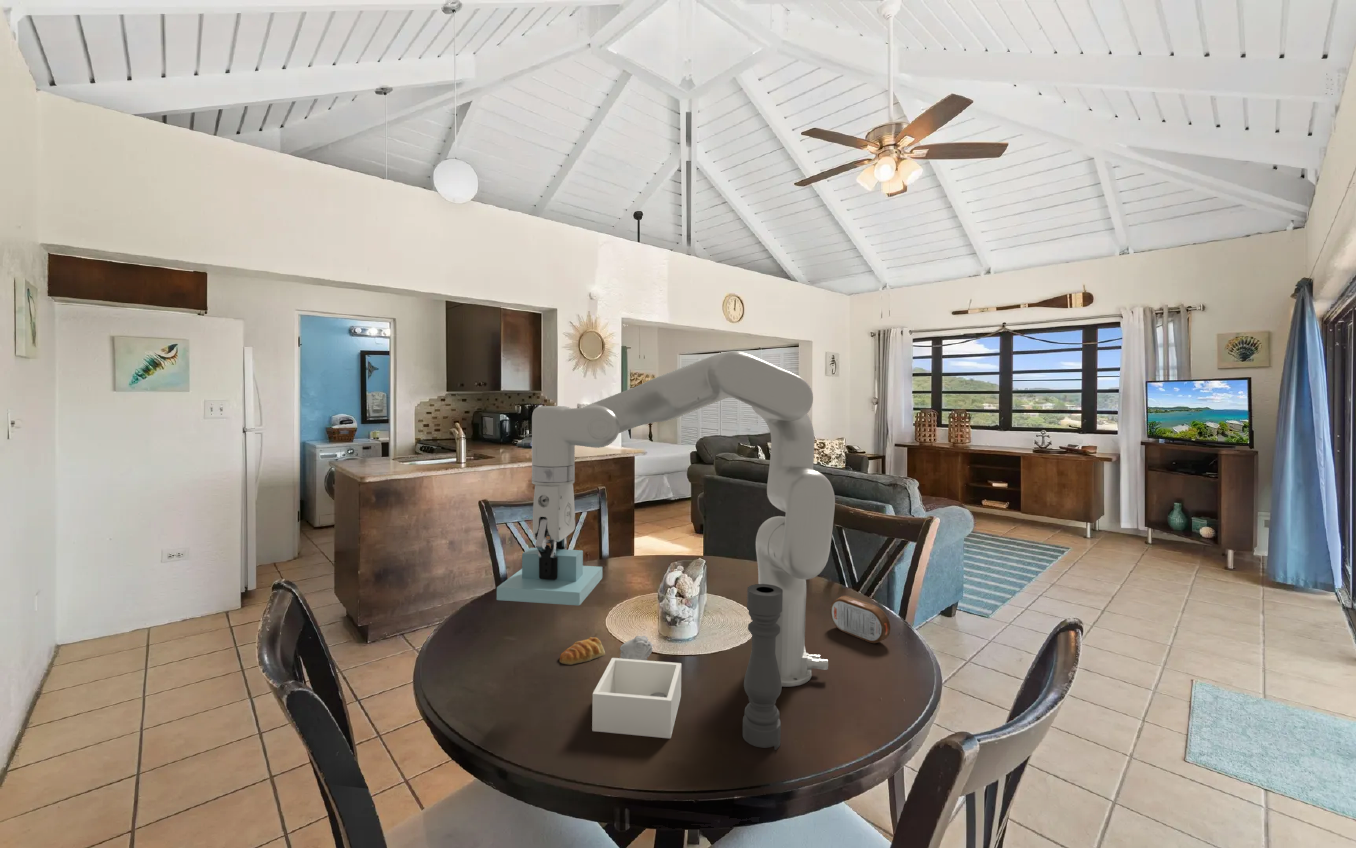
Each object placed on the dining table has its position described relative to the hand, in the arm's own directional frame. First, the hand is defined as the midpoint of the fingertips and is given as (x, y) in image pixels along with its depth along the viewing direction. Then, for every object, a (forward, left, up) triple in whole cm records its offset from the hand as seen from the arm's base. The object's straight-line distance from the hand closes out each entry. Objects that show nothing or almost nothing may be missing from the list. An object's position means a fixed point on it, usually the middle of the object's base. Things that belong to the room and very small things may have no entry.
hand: (552, 573), depth 104 cm
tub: (-17, +4, -23) cm, 29 cm away
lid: (0, 0, -3) cm, 3 cm away
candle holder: (-38, +7, -23) cm, 45 cm away
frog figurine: (-13, -13, -23) cm, 30 cm away
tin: (-61, -38, -23) cm, 76 cm away
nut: (-20, +2, -22) cm, 30 cm away
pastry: (-1, -16, -24) cm, 29 cm away
